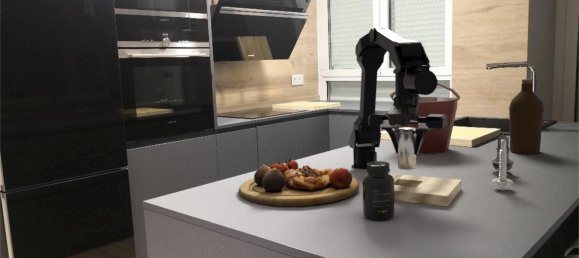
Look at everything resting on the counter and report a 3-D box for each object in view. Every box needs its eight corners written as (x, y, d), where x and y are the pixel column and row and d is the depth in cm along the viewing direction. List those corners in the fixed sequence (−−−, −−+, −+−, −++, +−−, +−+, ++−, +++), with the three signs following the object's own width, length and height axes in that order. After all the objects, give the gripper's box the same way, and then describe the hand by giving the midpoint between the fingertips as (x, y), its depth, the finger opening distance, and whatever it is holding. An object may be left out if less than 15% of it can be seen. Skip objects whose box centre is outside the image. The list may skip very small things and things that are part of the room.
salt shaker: (515, 176, 137) (517, 134, 135) (493, 176, 138) (494, 134, 136) (510, 171, 142) (511, 130, 141) (489, 171, 144) (490, 131, 142)
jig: (372, 197, 121) (372, 188, 121) (393, 182, 135) (393, 173, 135) (447, 206, 112) (447, 196, 112) (461, 189, 126) (461, 179, 126)
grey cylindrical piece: (395, 168, 123) (395, 129, 122) (400, 165, 127) (400, 127, 126) (413, 170, 121) (413, 130, 119) (418, 166, 125) (418, 127, 123)
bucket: (380, 150, 180) (379, 83, 177) (408, 141, 197) (408, 79, 193) (444, 157, 165) (445, 83, 161) (469, 147, 181) (470, 79, 178)
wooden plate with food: (383, 188, 131) (383, 158, 130) (299, 216, 109) (297, 180, 108) (299, 173, 154) (298, 147, 153) (215, 194, 132) (213, 164, 131)
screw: (516, 190, 123) (502, 192, 122) (501, 185, 128) (487, 188, 126) (518, 139, 122) (504, 141, 120) (503, 136, 126) (488, 138, 124)
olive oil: (521, 155, 163) (524, 80, 160) (501, 150, 173) (503, 79, 170) (549, 153, 165) (552, 79, 162) (527, 148, 176) (529, 78, 172)
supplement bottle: (359, 212, 110) (359, 160, 108) (389, 210, 111) (389, 159, 109) (367, 222, 103) (366, 167, 102) (398, 220, 104) (398, 165, 102)
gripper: (359, 94, 119) (360, 157, 121) (437, 95, 110) (436, 163, 112) (375, 91, 129) (376, 149, 131) (448, 91, 119) (447, 154, 122)
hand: (407, 154), depth 124 cm, fingers closed on grey cylindrical piece, 4 cm apart
